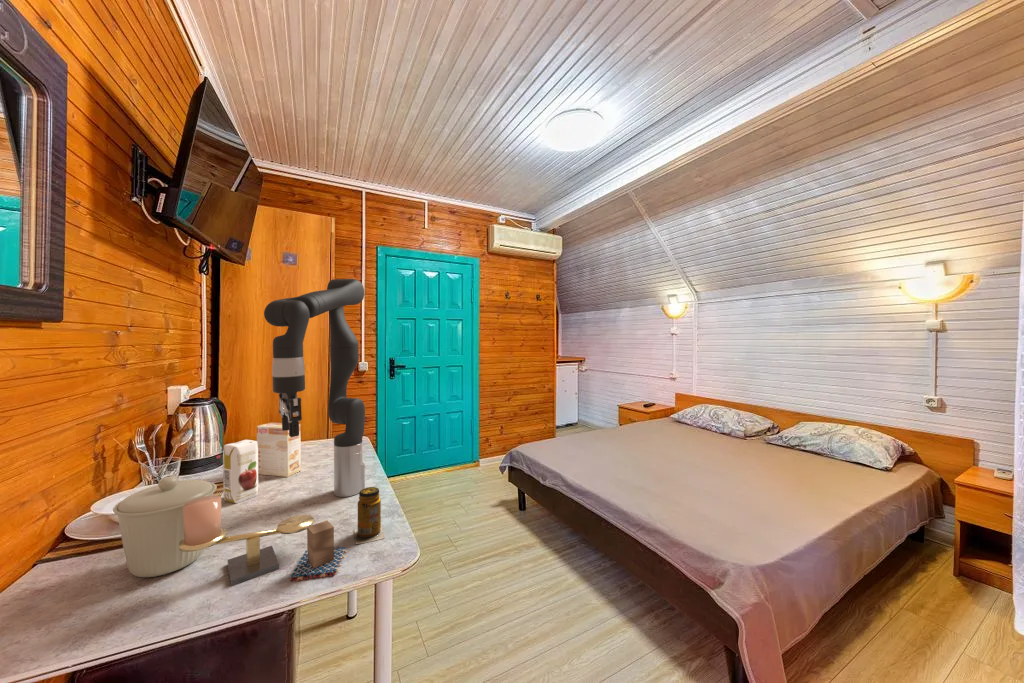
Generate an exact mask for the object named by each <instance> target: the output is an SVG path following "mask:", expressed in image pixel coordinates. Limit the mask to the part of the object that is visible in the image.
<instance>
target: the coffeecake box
mask: <svg viewBox="0 0 1024 683" xmlns="http://www.w3.org/2000/svg"><path fill="white" fill-rule="evenodd" d="M256 441H257V445H258V475H263V476H273V477H284V478H289V477H291V476H293V475H295V473H296V474H298V473H299V471H300V472H302V466H301V465H302V463H301V462H302V460H301V457H302V456H301V455H302V454H301V452H302V451H301V450H302V449H301V447H302V446H301V444H302V443H301V423H299V435H298V436H295V437H290V436H289V430H286V431H283V430H282V422H267V423H263V424H259V425H257V426H256ZM297 472H298V473H297Z"/></svg>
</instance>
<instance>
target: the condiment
mask: <svg viewBox="0 0 1024 683" xmlns="http://www.w3.org/2000/svg"><path fill="white" fill-rule="evenodd" d="M358 496H359V497H358V501H357V528H355V529H353V530H354V531H353V532H354V542H355V545H358V544H359V545H360V544H364V543H365V544H366V543H367V544H368V543H370V542H375V541H380V540H382V539H385V538H386V537H385V534H384V530H383V526H382V522H381V521H382V519H381V518H382V515H381V514H382V513H381V512H382V511H381V507H382V504H381V503H382V501H381V498H380V489H379V488H378V487H377V486H369V487H365V488H364V489H362V490H361V491H360V492H359V493H358ZM377 535H378V536H377Z"/></svg>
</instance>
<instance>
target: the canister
mask: <svg viewBox="0 0 1024 683" xmlns="http://www.w3.org/2000/svg"><path fill="white" fill-rule="evenodd" d="M216 491H217V485H216V483H214V482H210V481H208V480H207V481H206V480H203V479H201V480H200V479H186V480H185V479H184V480H183V479H182V480H179V478H178V477H176V476H172V475H171V476H165V477H162V478H161V479H160V480H159V481H158V483H157V485H154V486H150V487H148V488H145V489H144V488H143V489H141V490H139V491H137V492H135V493H133V494H130V495H129V496H127V497H126V498H124V499H123V500H121V501H120V502H117V504H115V505H114V507H113V509H112V512H113V513H114V514H115V515H116V516H117V519H118V524H119V531H120V536H121V542H122V548H123V551H124V557H125V562H126V565H127V569H128V571H129V572H130V574H132V575H133V576H135V577H137V578H138V577H139V578H155V577H160V576H163V575H164V576H165V575H167V574H171V573H173V572H176V571H178V570H180V569H183V568H185V567H187V566H188V565H190V564H192V563H193V562H195V561H196V560H197V559H198V558H199V557H201V555H202V554H203V552H204V551H205V549H202V550H198V551H192V552H183V551H180V550H179V543H180V541H181V540H183V539H184V515H183V506H184V504H186V503H187V502H189V501H191V500H194V499H197V498H201V497H205V496H214V493H215V492H216Z"/></svg>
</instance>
